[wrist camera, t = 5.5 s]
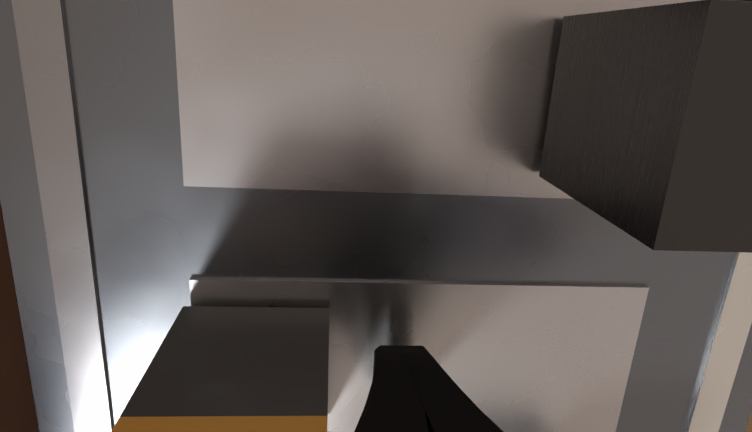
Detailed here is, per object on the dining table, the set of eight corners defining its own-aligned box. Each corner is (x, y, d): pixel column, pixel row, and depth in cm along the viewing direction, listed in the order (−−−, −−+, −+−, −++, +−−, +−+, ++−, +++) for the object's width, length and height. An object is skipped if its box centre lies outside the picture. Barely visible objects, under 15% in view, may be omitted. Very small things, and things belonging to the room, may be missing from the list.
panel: (97, 572, 15) (-38, 872, 10) (9, -40, 10) (-363, -135, 5) (658, 554, 17) (817, 806, 11) (815, 14, 12) (1233, -11, 6)
